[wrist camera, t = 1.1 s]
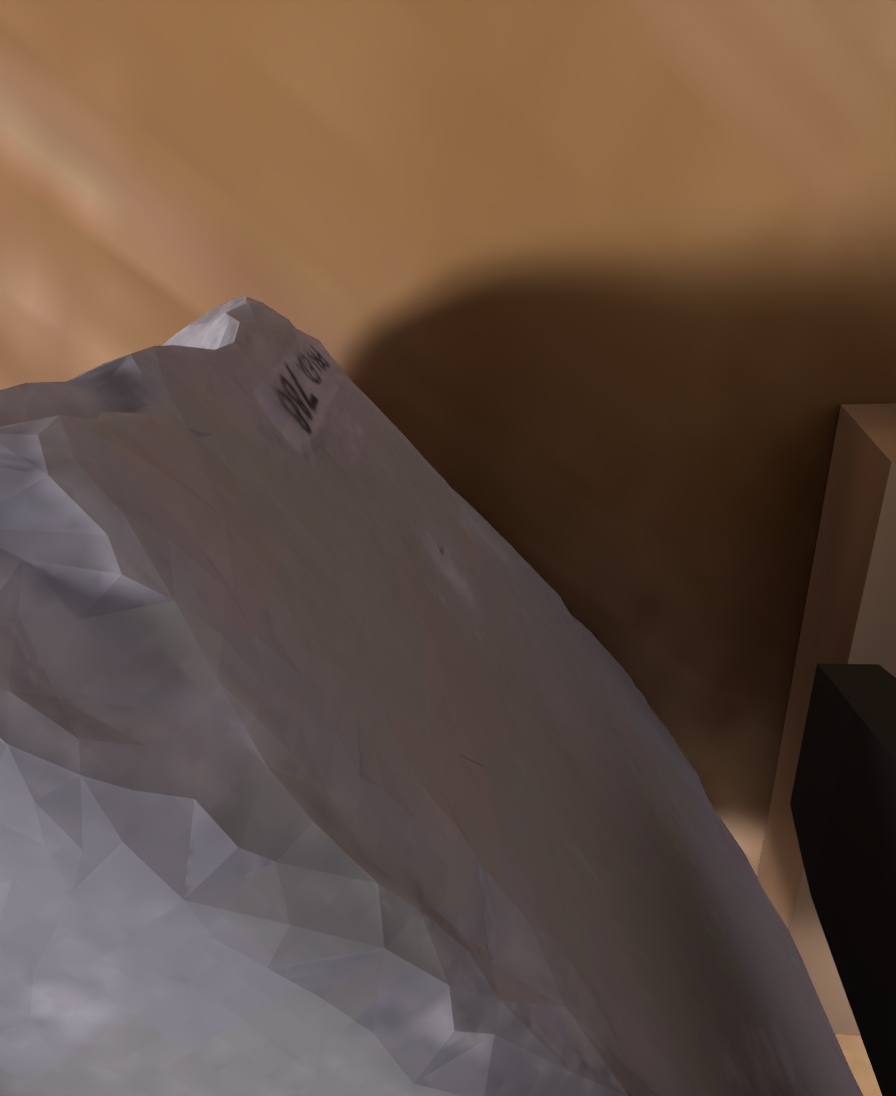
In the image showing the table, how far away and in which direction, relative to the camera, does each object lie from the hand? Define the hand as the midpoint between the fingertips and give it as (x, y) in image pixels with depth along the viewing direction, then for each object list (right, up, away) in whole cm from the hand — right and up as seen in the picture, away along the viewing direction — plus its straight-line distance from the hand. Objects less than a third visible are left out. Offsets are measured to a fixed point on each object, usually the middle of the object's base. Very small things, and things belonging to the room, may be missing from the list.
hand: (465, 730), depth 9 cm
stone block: (+1, +2, +4) cm, 5 cm away
